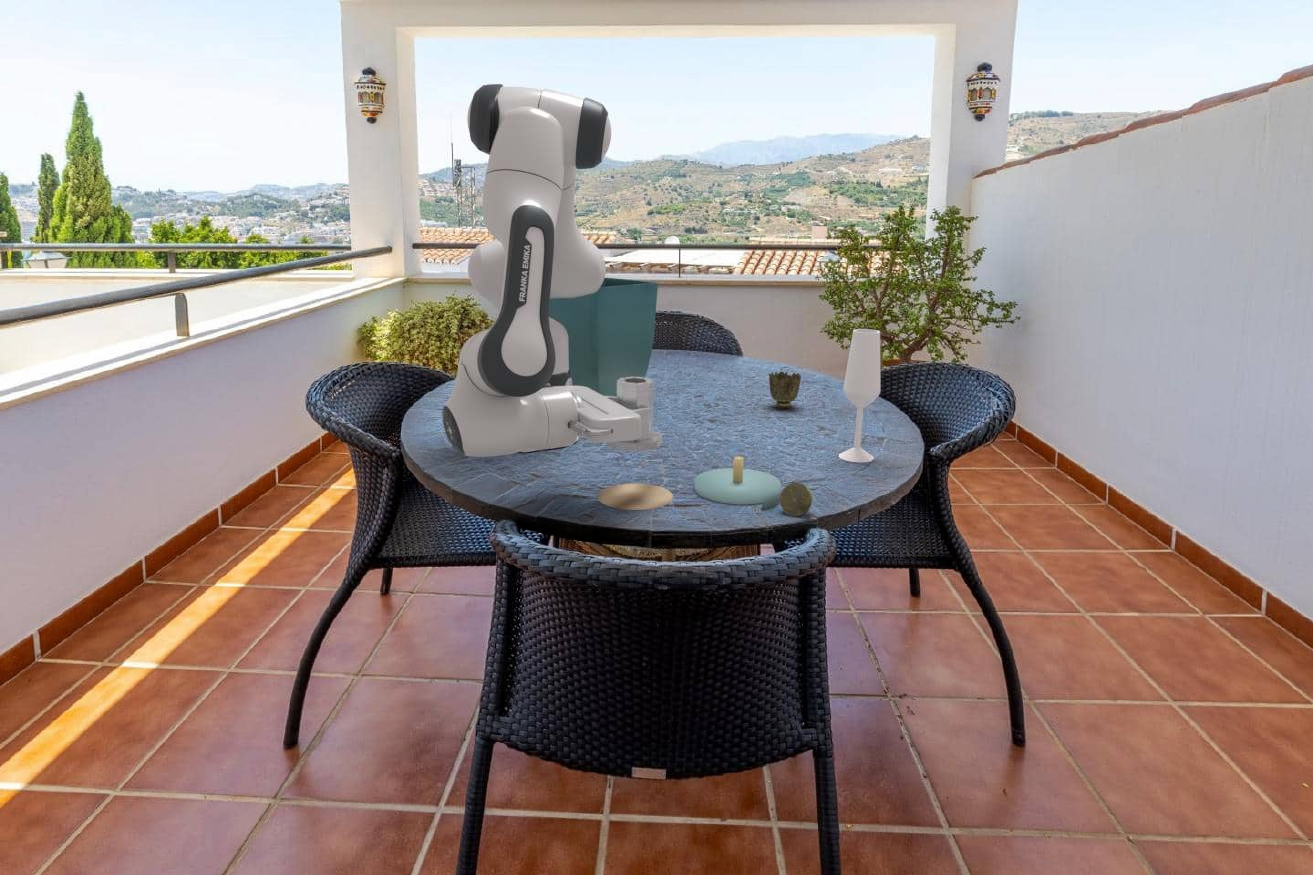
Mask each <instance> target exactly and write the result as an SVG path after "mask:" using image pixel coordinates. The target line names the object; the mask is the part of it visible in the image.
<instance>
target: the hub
mask: <svg viewBox="0 0 1313 875" xmlns="http://www.w3.org/2000/svg"><path fill="white" fill-rule="evenodd" d="M732 466H733V467H730V468H729V467H727V468H726V467H725V468H724V467H722V468H717V469H711V470H706V471H704V472H701V473H699V474H698V475H697V476H695V478H694V491H695V493H697V495H699V496H700V497H702V498H704V499H707V500H710V501H713V502H717V503H721V504H728V505H757V504H762V503H763V504H762V505H761V507H760V511H762V510H766V509H770V508H772V507H774V506H776V505H777V504H778V503H779V504H780V494H781V492H782V489H781V488H782V483H781V480H780V479H779V478H778V477H776V476H775V475H773V474H771V473H767V472H765V471H761V470H756V469H751V468H750V469H749V468H744V457H742V456H734V457H733V465H732Z"/></svg>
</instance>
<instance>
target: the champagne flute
mask: <svg viewBox="0 0 1313 875" xmlns="http://www.w3.org/2000/svg"><path fill="white" fill-rule="evenodd" d="M852 331H853V332H852V336H851V342H850V348H849V354H848V359H847V366H846V370H845V378H844V382H843V387H842V390H843V393H844V394H845V396H846V398H847V400H849V402H850V403H851V404H852V405H853V406H855V407H856V418H855V431H854V441H853V444H854V445H853V447H852V448H849V449H847V450H846V451H845V450H844V451H843V452H841V453H839V454H838V455H839V456H838V458H839V459H841V460H843V461H847V462H851V463H869V462H873V461H874V460H875V456H873V455H872V454H871V453H869V452H867V451H866V450H864V449H863V448H862V447H861V441H862V432H863V419H864V408H866V407H869V405H871V404H872V403H873V402H874V401H875V400H876V399H877V398H878V397H879V396H880V394H881V331H880V330H877V329H868V328H857V329H853V330H852ZM873 459H874V460H873ZM872 460H873V461H872Z"/></svg>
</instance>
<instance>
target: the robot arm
mask: <svg viewBox="0 0 1313 875" xmlns="http://www.w3.org/2000/svg"><path fill="white" fill-rule="evenodd" d="M466 120H467V128H468V132H469V138H470V142H471V143H472V144H473V145H474V146H475V148H476V149H478V151H480V152H481V153H484V154H487V155H489V157H488V160H487V165H486V170H485V171H486V172H485V175H484V176H485V177H484V182H483V190H482V191H483V192H482V221H483V224H484V225H485V227H486V229H487V230H488V232H489V234H490V235H491V236H492V237H493V238H494V239H495V240H494V241H489V242H485V243H481V244H478V245H477V246H476V247H475V248H474V249H473V251H472V253H471V255H470V257H469V260H468V265H467V273H468V278H469V281H470V283H471V286H472V287H473V288H474V290H475V291H476V292H477V293H478V294H479V295H480V296H481V297H483V298H484V299H486V300H487V301H488V303H489V302H490V303H491V305H493V307H494V308H495V310H497V311H498V314H497V317H496V319H495V321H493V323H492V325H491V326H490V328H489V327H488V328H487V329H486V328H485V329H484V330H482V331H480V332H479V331H478V332H477V333H475V334H473V335H471V336H470V337H469V338H467V340H465V342H464V343H463V344H462V347H461V348H460V351H459V355H458V366H457V373H456V377H455V382H454V385H453V388H452V390H451V393H450V395H449V397H448V399H447V401H446V402H445V403H444V406H443V408H442V413H441V414H442V415H441V416H442V422H443V423H442V424H443V428H444V430H445V434H446V436H447V440H448V441H449V442H450V444H451V445H452V448H454V449H455V450H456V451H457V452H458V453H459V454H461V455H463V456H467V457H471V458H473V457H474V458H475V457H476V458H485V457H497V456H508V455H513V454H517V453H519V452H521V453H531V452H535V451H536V452H537V451H543V450H549V449H556V448H557V449H558V448H563V447H564V448H565V447H571V446H573V445H574V444H575V443H577V441H578V440H579V439H580V438H579V437H581V436H582V437H584V438H585V439H587V440H588V441H590V442H593V443H598V444H599V443H600V444H602V443H604V444H606V443H609V442H622V441H632V440H636V439H638V438H639V437H640V436H641V421H645V420H650V419H652V409H651V408H648V407H646V406H644V407H638V409H636V410H631V409H627V408H626V407H624V406H622V405H620V404H618V403H617V397H613V396H603V395H601V394H599V393H597V392H595V391H594V390H592V389H590V388H588V387H584V386H572V378H571V370H570V369H569V338H568V333H567V330H566V329H565V327H564V326H563V325H562V324H561V323H559V322H558V321H556V320H554V319H552V318H550V317H549V302H550V299H554V298H576V297H580V296H585V295H589V294H593V293H596V292H597V291H598V289H599V288H600V287H601V285H602V283H603V281H604V278H606V272H607V268H606V260H605V258H604V255H603V253H602V252H601V250H600V248H599V247H598V246H596V244H594V243H593V242H591V241H590V240H589V239H587V238H586V236H584V235H583V233H582V232H581V230H580V229H579V227H578V224H577V220H576V216H575V188H576V176H577V175H576V174H577V170H587V169H588V170H589V169H594V168H596V167H597V166H598V165H600V164H602V161H603V158H605V156H606V155H607V153H608V151H609V148H610V145H611V140H612V126H611V121H610V119H609V112H608V110H607V109H606V107H605V106H604V104H603V103H601V102H599V101H596V100H594V99H591V98H589V97H584V98H581V97H578V96H575V95H572V94H569V93H564V92H560V91H556V90H552V89H546V88H543V89H539V88H531V87H522V86H504V85H503V83H502V84H501V83H489V84H483V85H481V87H479V88H478V89H477V90H475V91H474V94H473V96H472V99H471V102H470V104H469V106H468V109H467V119H466Z"/></svg>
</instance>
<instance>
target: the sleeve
mask: <svg viewBox="0 0 1313 875" xmlns="http://www.w3.org/2000/svg"><path fill="white" fill-rule="evenodd" d="M617 403H618V404H620V405H622V406H624V407H626V408H627V409H631V410H636V409H638V407H644V406H646V407H648V408H651V409H652V419H650V420H645V421H641V436H640V437H639V438H638V439H636V440H632V441H622V442H609V443H605V444H606V445H608V446H609V447H611V448H613V449H614V450H619V451H629V452H635V453H639V452H644V451H651V450H657V449H658V448H659V447H660V446H661V445H662V443H663V442H664V441H663V439H664V436H663V434H661V433H660V432H657V431H655V430H654V429H653V425H654V424H653V423H654V422H653V420H654V379H651V378H649V377H646V376H645V377H623V378H620V379H619V380H617Z"/></svg>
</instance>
